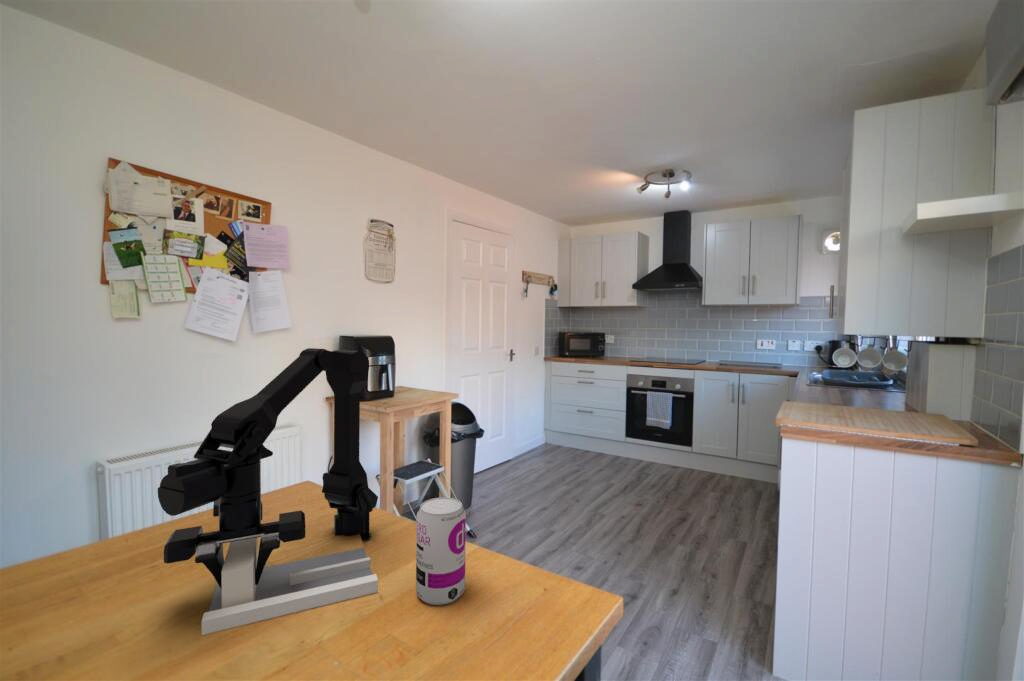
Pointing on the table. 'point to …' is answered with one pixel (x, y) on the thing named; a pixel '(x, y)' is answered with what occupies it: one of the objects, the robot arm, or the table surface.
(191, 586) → the table surface
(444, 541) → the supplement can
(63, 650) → the table surface
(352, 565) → the shelf board
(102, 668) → the table surface
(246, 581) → the carton
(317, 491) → the table surface
